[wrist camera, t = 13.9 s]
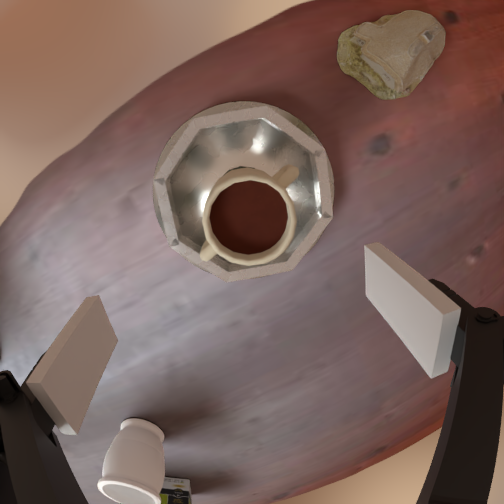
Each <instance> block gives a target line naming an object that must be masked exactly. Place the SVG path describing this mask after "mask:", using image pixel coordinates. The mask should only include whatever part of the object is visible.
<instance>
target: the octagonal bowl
mask: <svg viewBox="0 0 504 504" xmlns="http://www.w3.org/2000/svg"><path fill="white" fill-rule="evenodd" d="M288 164H290V165H293V166H295V167H297V168H298V169H299V175H298V177H297V178H296V180H295V181H293V182H292V183H291V184H290V185H289V186H288V187H287V188H286V191H287V192H288V194H289V196H290V197H291V199H292V201H293V202H294V206H295V213H296V219H297V223H296V228H295V233H294V238H293V239H292V241H291V243H290V245H289V246H288V248H287V249H286V250H285V251H284V252H283V253H282V254H281V255H280V256H278V257H277V258H276V259H274V260H272V261H269V262H267V263H265V264H259V265H251V266H247V265H242V264H236V263H232V262H230V261H228V260H226V259H225V258H223V257H221V256H220V255H218V254H216V255H215V256H214V257H213V258H212V259H210V260H209V261H207V262H206V261H202V260H201V257H200V252H201V248H202V245H203V243H204V242H205V241H206V237H205V232H204V228H203V224H202V217H203V212H204V207H205V202H206V199H207V197H208V194H209V192H210V190H211V189H212V187H213V186H214V184H215V183H216V182H217V180H218V179H219V178H220V177H222V176H223V175H224V174H225V173H226V172H227V171H228V170H230V169H233V168H236V167H239V166H244V167H252V168H255V169H258V170H262V171H264V172H265V173H267V174H268V175H270V176H271V177H272V176H274V175H275V174H276V173H277V172H278V171H279V170H280V169H281V168H282V167H283V166H285V165H288ZM333 201H334V178H333V172H332V167H331V164H330V161H329V158H328V156H327V154H326V152H325V149H324V148H323V146H322V144H321V143H320V141H319V140H318V138H317V137H316V135H315V134H314V133H313V132H312V131H311V130H310V129H309V127H307V126H306V125H305V124H304V123H303V122H302V121H300V120H299V119H298V118H296V117H295V116H293V115H292V114H290V113H289V112H286V111H284V110H282V109H280V108H278V107H275V106H272V105H268V104H265V103H259V102H251V101H238V102H229V103H224V104H220V105H216V106H214V107H211V108H209V109H206V110H204V111H202V112H200V113H198V114H197V115H195V116H193V117H192V118H191V119H189V120H188V121H187V122H185V123H184V124H183V125H182V126H181V127H180V128H179V129H178V130H177V131H176V132H175V133H174V134H173V136H172V137H171V138H170V139H169V141H168V142H167V144H166V146H165V147H164V149H163V151H162V153H161V155H160V158H159V160H158V163H157V166H156V170H155V174H154V179H153V202H154V208H155V213H156V216H157V219H158V222H159V224H160V227H161V229H162V231H163V233H164V234H165V236H166V238H167V240H168V244H169V247H170V248H172V249H173V250H175V251H177V252H178V253H179V254H180V255H182V256H183V257H184V258H185V259H186V260H187V261H189V262H190V263H192V264H193V265H195V266H196V267H198V268H200V269H202V270H204V271H206V272H209V273H211V274H214V275H215V276H217V277H218V278H220V279H222V280H223V281H225V282H232V281H237V280H243V279H252V278H260V277H264V276H268V275H272V274H276V273H281V272H287V271H292V270H293V269H294V268H295V266H296V265H297V264H298V262H299V261H300V260H301V259H302V257H303V256H304V255H306V254H307V253H308V252H309V251H310V250H311V248H312V247H313V246H314V245H315V244H316V242H317V241H318V239H319V238H320V237H321V235H322V233H323V231H324V229H325V228H326V226H327V225H328V224H329V222H330V221H331V220H332V218H333V210H332V207H333Z"/></svg>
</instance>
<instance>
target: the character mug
mask: <svg viewBox="0 0 504 504" xmlns="http://www.w3.org/2000/svg"><path fill="white" fill-rule="evenodd" d="M298 175H299V169H298V168H297V167H295V166H293V165H290V164H288V165H285V166H283V167H282V168H281V169H280V170H279V171H278V172H277V173H276V174H275V175H274V176H272V177H271V176H270V175H268V174H267V173H265V172H264V171H262V170H258V169H255V168H252V167H244V166H239V167H236V168H233V169H230V170H228V171H227V172H226V173H225V174H224V175H223V176H222V177H220V178H219V179H218V180H217V182H216V183H215V184H214V186H213V187H212V189H211V190H210V192H209V194H208V197H207V199H206V202H205V207H204V212H203V217H202V224H203V228H204V232H205V237H206V241H205V242H204V243H203V245H202V248H201V252H200V257H201V260H202V261H206V262H207V261H209V260H210V259H212V258H213V257H214V256H215V255H216V254H218V255H220V256H221V257H223V258H225V259H226V260H228V261H230V262H232V263H236V264H242V265H247V266H251V265H259V264H265V263H267V262H269V261H272V260H274V259H276V258H277V257H278V256H280V255H281V254H282V253H283V252H284V251H285V250H286V249H287V248H288V246H289V245H290V243H291V241H292V239H293V238H294V233H295V228H296V223H297V219H296V213H295V206H294V202H293V201H292V199H291V197H290V196H289V194H288V192H287V191H286V188H287V187H288V186H289V185H290V184H291V183H292V182H293V181H295V180H296V178H297V177H298Z"/></svg>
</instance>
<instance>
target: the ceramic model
mask: <svg viewBox="0 0 504 504" xmlns="http://www.w3.org/2000/svg"><path fill="white" fill-rule="evenodd" d="M445 35H446V34H445V30H444V28H443V26H442V25H441V24H440V23H439V22H438V21H437V20H436V18H435V17H433V16H432V15H430V14H427V13H424V12H422V11H417V10H407V11H404V12H402V13H400V14H397V15H396V14H395V15H386V16H383V17H381V18H380V19H379V20H377V21H376V22H364V23H362V24H360V25H356V26H353V27H351V28H349V29H347V30H345V31H344V32H342V33H341V35H340V37H339V39H338V43H339V44H338V51H337V61H338V64H339V66H340V68H341V70H342V71H343V72H344V73H345V74H347V75H350V76H352V77H354V78H355V79H356V80H358V81H359V82H360V83H362V84H363V85H364V86H365V87H366V88H367V89H368V90H369V91H370V92H371V93H373V94H374V95H375V96H376V97H378V98H380V99H385V100H387V99H396V98H401V97H406V96H409V95H410V93H411V92H412V91H413V90H414V89H415V87H416V86H417V85H418V84H419V83H420V82H421V81H422V79H423V78H424V75H425V74H426V73H427V72H428V70H429V69H430V68H431V66H432V65H433V63H434V61H435V60H436V59H437V58H438V57H439V56H440V54H441V53H442V51H443V48H444V46H445Z"/></svg>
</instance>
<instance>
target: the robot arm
mask: <svg viewBox="0 0 504 504" xmlns="http://www.w3.org/2000/svg"><path fill="white" fill-rule="evenodd" d="M364 249H365V277H366V296H367V297H368V299H369V300H370V301H371V302H372V304H373V305H374V306H375V307H376V309H377V310H378V311H379V312H380V313H381V315H382V316H383V317H384V318H385V320H386V321H387V322H388V323H389V325H390V326H391V327H392V329H393V330H394V331H395V332H396V334H397V335H398V336H399V337H400V339H401V340H402V341H403V343H404V344H405V345H406V346H407V348H408V349H409V350H410V352H411V353H412V354H413V356H414V357H415V358H416V360H417V361H418V362H419V363H420V365H421V366H422V367H423V369H424V370H425V371H426V373H427V374H428V376H429V377H430V378H433V377H436V376H438V375H441V374H443V373H445V372H447V371H448V368H449V364H450V360H452V361H453V362H454V363H455V364H456V368H455V372H454V375H453V379H452V382H451V385H450V387H451V392H450V397H449V401H448V406H447V410H446V414H445V418H444V422H443V426H442V430H441V433H440V437H439V440H438V444H437V447H436V450H435V454H434V457H433V460H432V463H431V466H430V469H429V472H428V474H427V477H426V480H425V483H424V485H423V488H422V490H421V493H420V495H419V498H418V500H417V503H416V504H487V500H488V496H489V492H490V488H491V483H492V479H493V473H494V468H495V462H496V456H497V451H498V444H499V436H500V427H501V416H502V402H503V384H504V316H500V315H499V314H498V313H497V312H496V311H494V310H492V309H490V308H486V307H478V308H474V307H472V306H471V305H470V304H469V303H468V302H466V301H465V300H464V299H463V298H461V297H460V296H459V295H458V294H457V295H456V293H455V292H454V291H453V290H450V288H449V287H448V286H446V285H445V284H444V283H442V282H440V281H437V280H434V279H430V280H427V279H425V278H424V277H423V276H422V275H420V274H419V273H418V272H417V271H415V270H414V269H413V268H412V267H410V266H409V265H408V264H406V263H405V262H404V261H403V260H401V259H400V258H399V257H397V256H396V255H395V254H393V253H392V252H391V251H390V250H388V249H387V248H386V247H384V246H383V245H382V244H380V243H379V242H377V243H372V244H367V245H364ZM117 342H118V339H117V337H116V335H115V333H114V330H113V328H112V326H111V323H110V321H109V319H108V316H107V314H106V311H105V309H104V306H103V304H102V301H101V299H100V296H99V295H98V296H92V297H87V298H86V299H85V300H84V302H83V303H82V304H81V305H80V307H79V308H78V309H77V311H76V312H75V313H74V315H73V316H72V317H71V319H70V320H69V321H68V323H67V324H66V325H65V327H64V328H63V329H62V331H61V332H60V333H59V335H58V336H57V338H56V339H55V340H54V342H53V343H52V345H51V346H50V347H49V349H48V350H47V351H46V352H45V353H44V354H43V355H42V356H41V357H40V359H39V360H38V362H37V364H36V365H35V366H34V367H33V370H31V372H30V373H29V375H28V376H27V378H26V379H25V381H24V382H23V384H22V386H21V387H20V386H19V384H18V383H17V381H16V379H15V378H14V376H13V375H12V373H11V371H8V370H6V371H1V372H0V504H88V502H87V500H86V498H85V496H84V494H83V493H82V491H81V489H80V487H79V485H78V483H77V481H76V479H75V477H74V475H73V473H72V471H71V468H70V466H69V464H68V462H67V460H66V457H65V455H64V453H63V451H62V448H61V446H60V443H59V441H58V438H57V436H56V435H55V433H54V432H53V431H52V429H53V427H54V425H56V426H57V427H58V429H59V430H60V431H61V432H62V434H70V435H78V432H79V430H80V427H81V424H82V422H83V419H84V417H85V414H86V412H87V410H88V407H89V405H90V402H91V400H92V398H93V395H94V393H95V390H96V388H97V386H98V383H99V381H100V379H101V377H102V374H103V372H104V370H105V368H106V365H107V363H108V361H109V359H110V357H111V354H112V352H113V350H114V348H115V346H116V344H117Z"/></svg>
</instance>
